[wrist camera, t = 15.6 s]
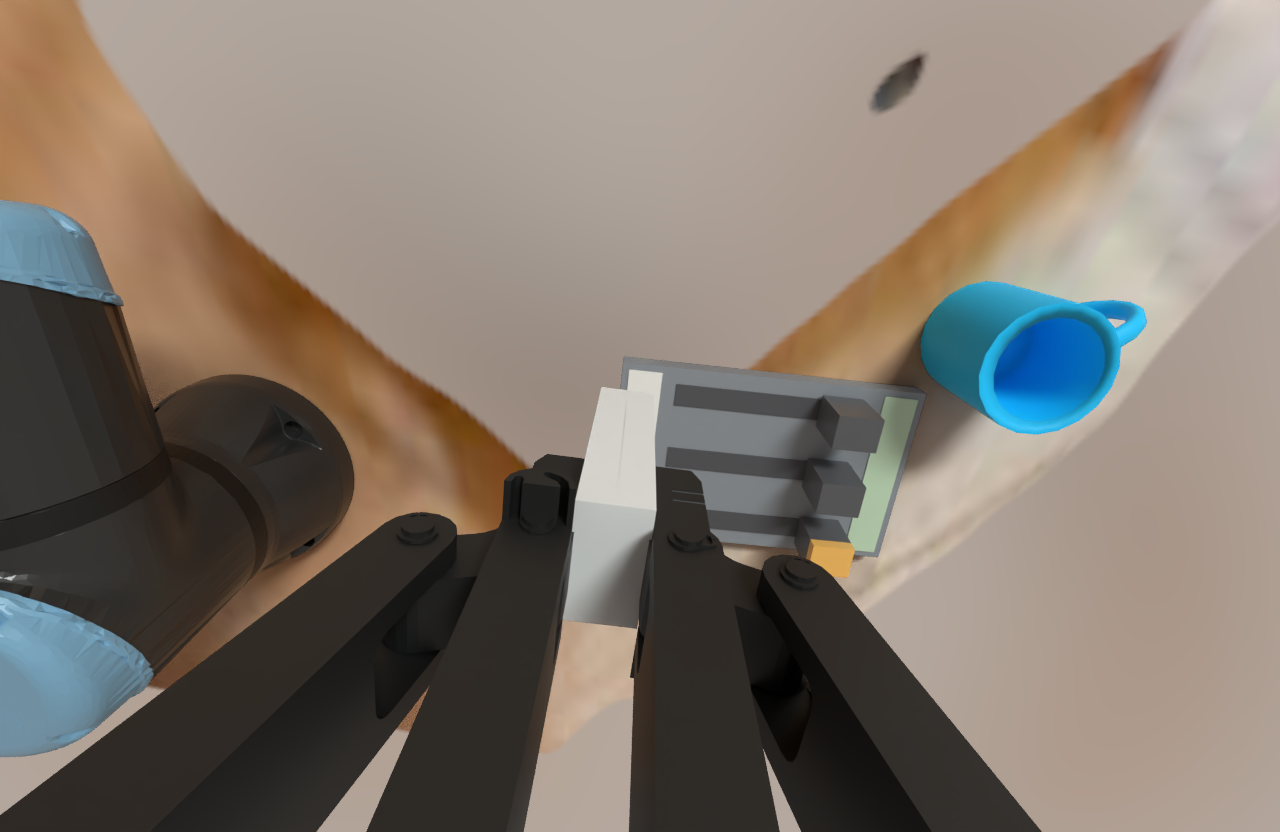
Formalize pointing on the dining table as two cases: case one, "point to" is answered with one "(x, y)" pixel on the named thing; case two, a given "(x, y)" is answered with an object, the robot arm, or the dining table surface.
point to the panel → (771, 445)
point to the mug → (1027, 353)
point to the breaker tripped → (825, 545)
